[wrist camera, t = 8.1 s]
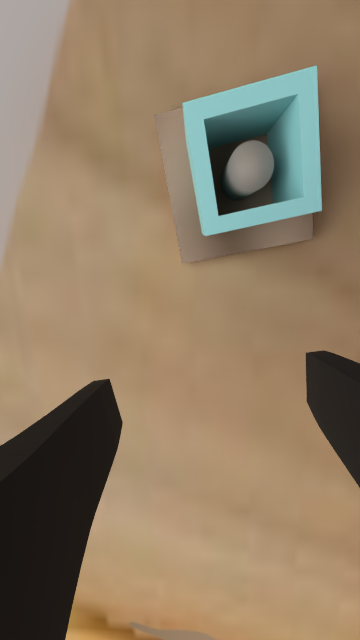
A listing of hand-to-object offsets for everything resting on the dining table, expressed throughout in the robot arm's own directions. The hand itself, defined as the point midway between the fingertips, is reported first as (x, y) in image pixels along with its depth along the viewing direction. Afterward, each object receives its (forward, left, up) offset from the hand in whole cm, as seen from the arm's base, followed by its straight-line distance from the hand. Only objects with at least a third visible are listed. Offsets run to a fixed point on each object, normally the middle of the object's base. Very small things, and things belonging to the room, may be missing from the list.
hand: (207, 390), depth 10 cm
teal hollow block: (-3, -8, -9) cm, 12 cm away
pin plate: (-3, -8, -10) cm, 13 cm away
